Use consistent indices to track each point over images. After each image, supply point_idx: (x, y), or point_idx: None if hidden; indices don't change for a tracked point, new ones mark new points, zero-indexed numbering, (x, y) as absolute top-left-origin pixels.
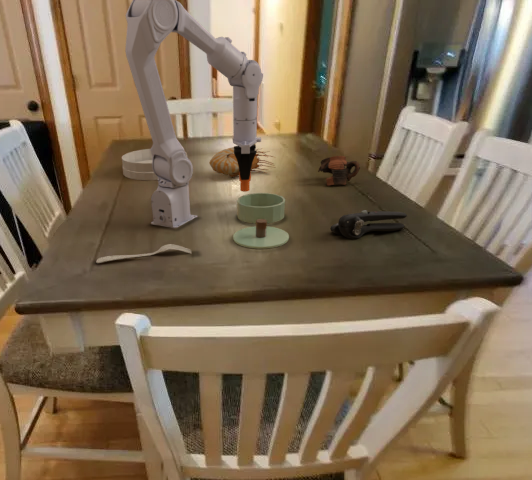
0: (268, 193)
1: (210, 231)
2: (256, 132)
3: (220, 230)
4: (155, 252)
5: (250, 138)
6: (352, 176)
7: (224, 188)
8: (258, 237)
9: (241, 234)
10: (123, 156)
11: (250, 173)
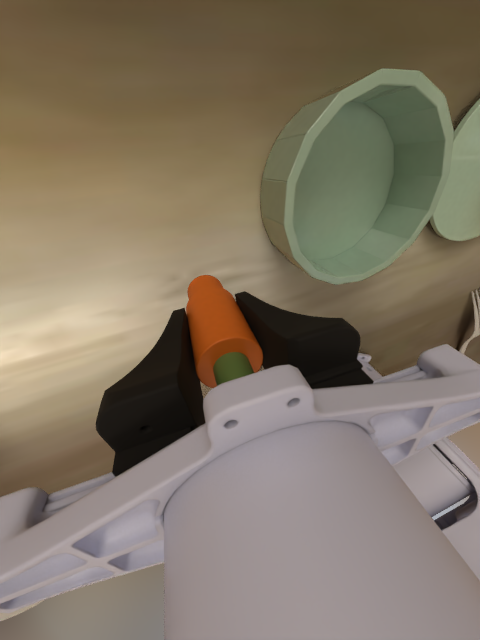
0: (296, 176)
1: (391, 297)
2: (329, 510)
3: (392, 280)
4: (469, 340)
5: (381, 453)
6: None
7: (42, 377)
8: None
9: (466, 222)
10: (1, 617)
11: (221, 300)
